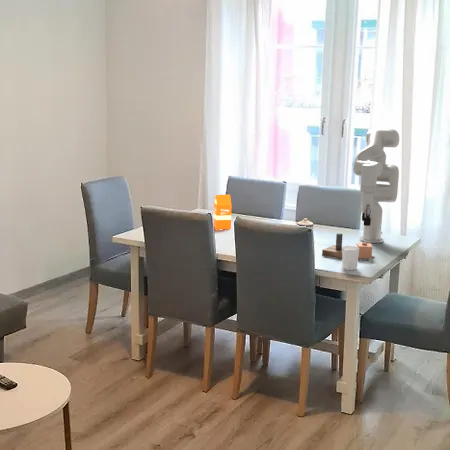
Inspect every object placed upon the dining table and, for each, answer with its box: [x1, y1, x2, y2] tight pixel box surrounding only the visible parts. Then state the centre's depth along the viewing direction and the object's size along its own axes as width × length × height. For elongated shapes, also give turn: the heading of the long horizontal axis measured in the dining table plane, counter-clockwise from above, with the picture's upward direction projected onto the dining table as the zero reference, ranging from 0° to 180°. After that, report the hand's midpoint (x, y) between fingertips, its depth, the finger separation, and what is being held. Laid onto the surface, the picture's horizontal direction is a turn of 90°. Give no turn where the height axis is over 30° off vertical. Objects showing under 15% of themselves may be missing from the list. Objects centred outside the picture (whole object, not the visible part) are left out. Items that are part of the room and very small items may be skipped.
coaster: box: [358, 255, 375, 261], centre depth 346 cm, size 8×8×1 cm
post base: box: [321, 233, 343, 260], centre depth 349 cm, size 12×12×11 cm
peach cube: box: [356, 241, 373, 260], centre depth 346 cm, size 7×7×7 cm
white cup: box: [341, 245, 359, 271], centre depth 326 cm, size 8×8×10 cm
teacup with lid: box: [296, 217, 314, 230], centre depth 382 cm, size 12×9×12 cm
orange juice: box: [213, 194, 233, 231], centre depth 401 cm, size 8×9×20 cm
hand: (366, 223), depth 343 cm, fingers open, 9 cm apart
